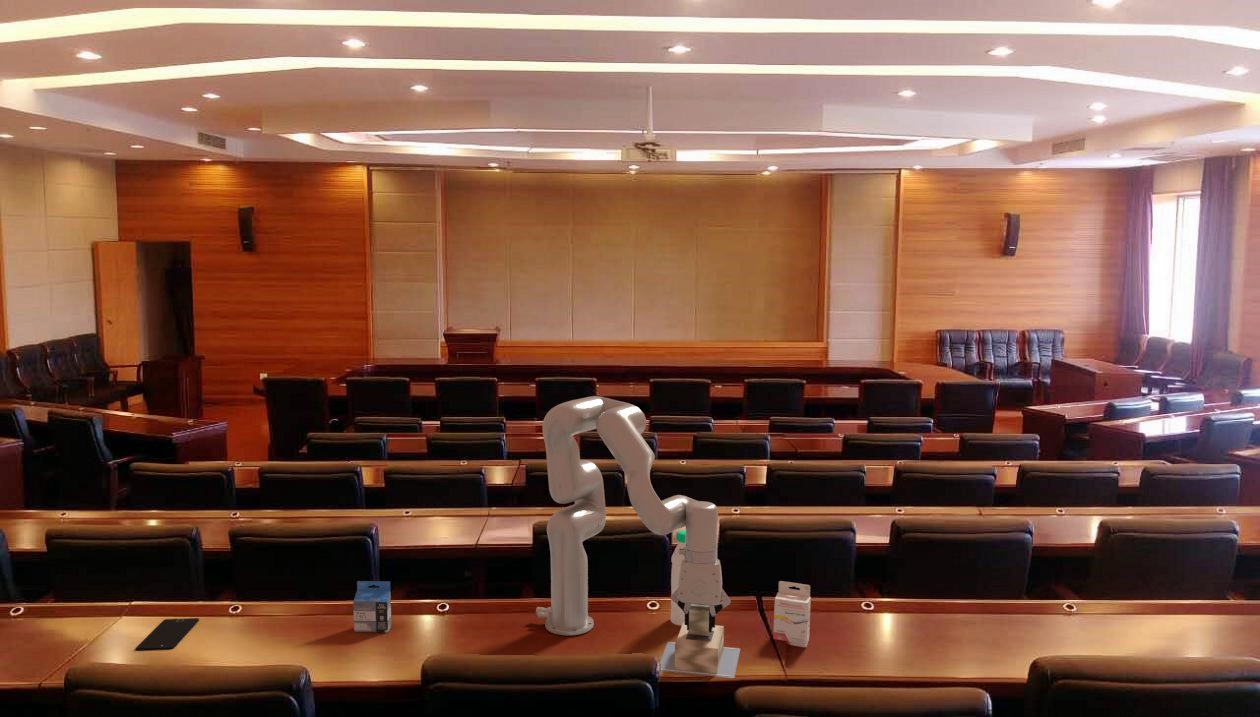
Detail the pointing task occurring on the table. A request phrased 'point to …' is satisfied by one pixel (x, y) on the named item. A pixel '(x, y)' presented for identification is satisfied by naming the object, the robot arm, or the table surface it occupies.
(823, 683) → the table surface
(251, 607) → the table surface
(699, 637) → the plinth
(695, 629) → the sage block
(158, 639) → the cell phone
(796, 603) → the ink cartridge box
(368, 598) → the label tape cartridge
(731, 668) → the board
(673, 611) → the water bottle
